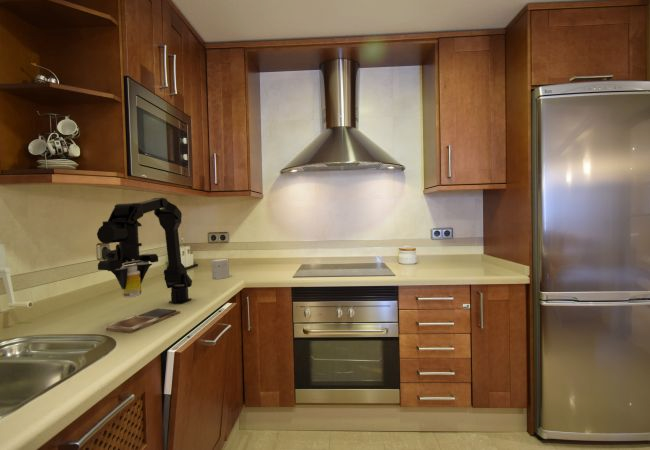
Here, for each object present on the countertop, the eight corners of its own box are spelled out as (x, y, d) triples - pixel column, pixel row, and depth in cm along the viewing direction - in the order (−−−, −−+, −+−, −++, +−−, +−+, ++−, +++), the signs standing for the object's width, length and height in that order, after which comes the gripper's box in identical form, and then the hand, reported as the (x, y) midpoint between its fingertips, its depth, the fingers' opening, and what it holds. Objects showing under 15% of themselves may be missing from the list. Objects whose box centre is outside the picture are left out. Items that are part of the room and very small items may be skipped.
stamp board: (157, 311, 130) (157, 307, 130) (180, 313, 127) (180, 309, 126) (106, 330, 111) (105, 325, 110) (131, 333, 107) (130, 328, 107)
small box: (224, 276, 196) (224, 258, 196) (229, 277, 192) (228, 259, 192) (211, 278, 191) (210, 260, 190) (216, 279, 187) (215, 261, 186)
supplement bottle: (144, 295, 114) (142, 265, 113) (125, 299, 110) (123, 267, 109) (138, 292, 117) (136, 263, 117) (120, 296, 113) (118, 266, 113)
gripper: (134, 238, 124) (137, 280, 125) (83, 243, 107) (86, 292, 107) (158, 238, 121) (160, 281, 121) (109, 243, 103) (112, 294, 104)
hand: (131, 287), depth 113 cm, fingers closed on supplement bottle, 5 cm apart
